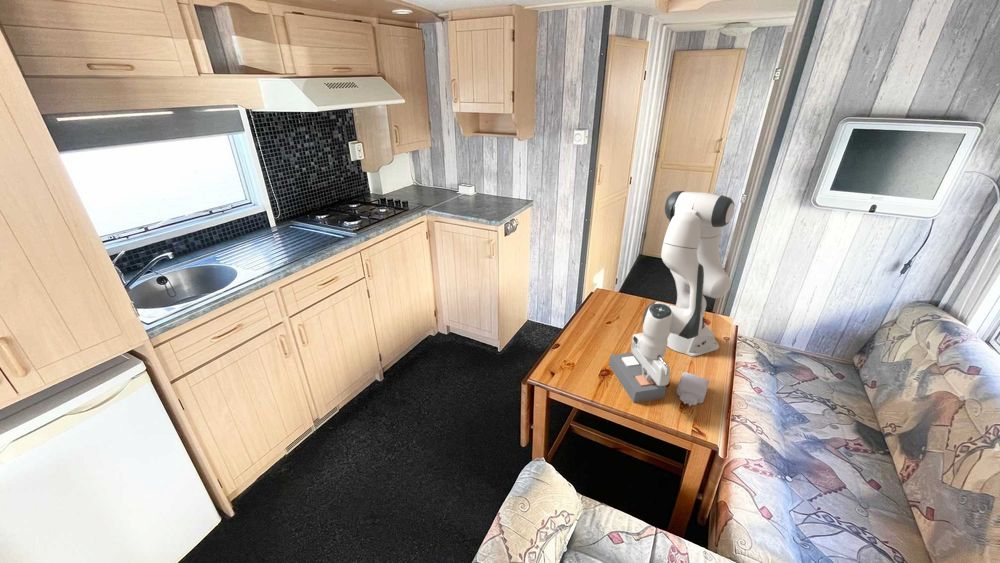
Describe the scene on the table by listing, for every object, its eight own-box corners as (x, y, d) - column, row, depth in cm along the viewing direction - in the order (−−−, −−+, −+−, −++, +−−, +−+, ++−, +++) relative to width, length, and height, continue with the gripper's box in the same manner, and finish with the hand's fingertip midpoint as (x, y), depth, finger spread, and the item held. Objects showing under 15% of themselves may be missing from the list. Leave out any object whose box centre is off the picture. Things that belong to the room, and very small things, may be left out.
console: (636, 361, 165) (638, 351, 162) (663, 397, 146) (666, 387, 144) (608, 365, 163) (610, 355, 160) (633, 402, 144) (635, 392, 142)
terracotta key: (645, 380, 151) (647, 374, 150) (652, 389, 147) (654, 383, 146) (633, 382, 150) (634, 376, 149) (640, 391, 146) (641, 385, 145)
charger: (671, 404, 144) (680, 380, 155) (699, 415, 139) (706, 389, 150) (674, 394, 142) (683, 370, 153) (702, 405, 137) (709, 380, 148)
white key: (632, 362, 161) (633, 356, 159) (638, 370, 156) (639, 364, 155) (620, 363, 160) (621, 357, 159) (626, 371, 156) (627, 365, 154)
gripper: (677, 365, 132) (670, 396, 138) (646, 330, 149) (640, 359, 156) (660, 368, 131) (653, 399, 137) (630, 332, 148) (625, 361, 155)
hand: (646, 377), depth 147 cm, fingers closed
